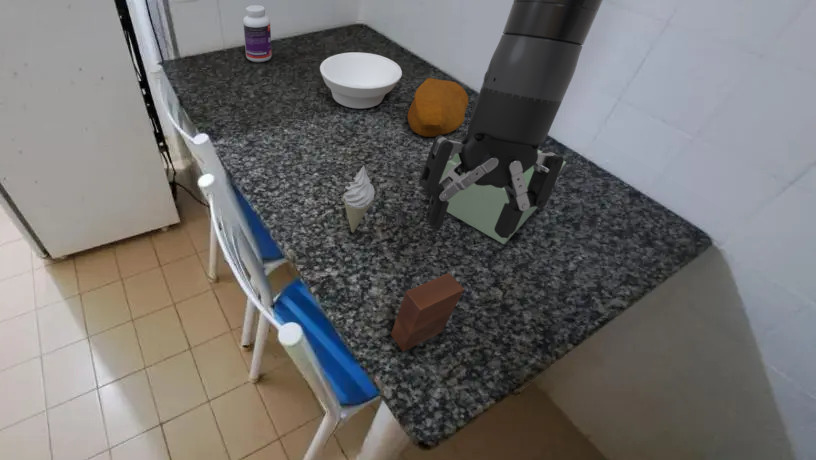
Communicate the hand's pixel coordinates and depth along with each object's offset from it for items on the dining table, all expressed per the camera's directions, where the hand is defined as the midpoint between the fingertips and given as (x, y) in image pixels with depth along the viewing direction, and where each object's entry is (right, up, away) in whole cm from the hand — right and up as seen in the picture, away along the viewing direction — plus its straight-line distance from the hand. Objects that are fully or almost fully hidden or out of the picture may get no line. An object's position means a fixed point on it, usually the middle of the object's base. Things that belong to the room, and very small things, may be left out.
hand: (467, 230), depth 47 cm
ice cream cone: (-11, 0, +25) cm, 27 cm away
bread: (+14, +27, +51) cm, 60 cm away
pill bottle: (-34, +54, +77) cm, 100 cm away
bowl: (-5, +36, +60) cm, 70 cm away
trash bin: (+16, +5, +31) cm, 35 cm away
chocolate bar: (-3, -15, +11) cm, 19 cm away
